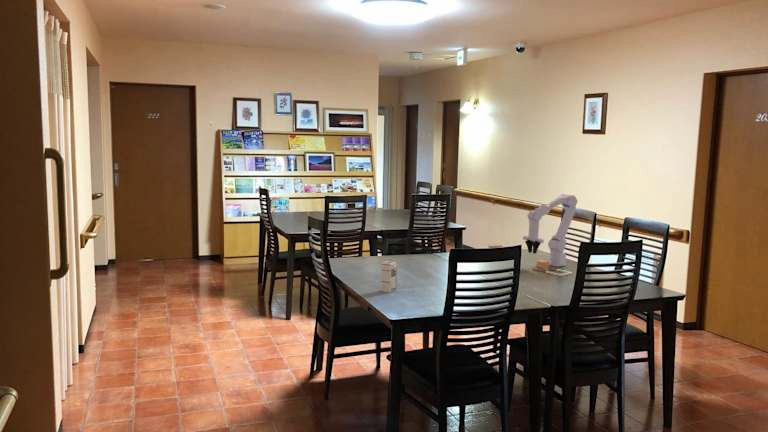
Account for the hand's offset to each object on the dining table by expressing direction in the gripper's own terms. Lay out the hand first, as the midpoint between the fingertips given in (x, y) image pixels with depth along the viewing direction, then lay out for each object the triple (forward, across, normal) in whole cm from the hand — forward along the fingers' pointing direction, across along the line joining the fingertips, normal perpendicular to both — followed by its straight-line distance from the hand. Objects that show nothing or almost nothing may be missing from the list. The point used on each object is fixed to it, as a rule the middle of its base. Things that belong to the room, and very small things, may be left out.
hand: (532, 253), depth 377 cm
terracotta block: (+8, +8, 0) cm, 12 cm away
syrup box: (+9, +7, -111) cm, 112 cm away
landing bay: (+8, +20, 0) cm, 22 cm away
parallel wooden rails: (+8, +10, 0) cm, 13 cm away
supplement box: (+9, -12, -19) cm, 24 cm away
